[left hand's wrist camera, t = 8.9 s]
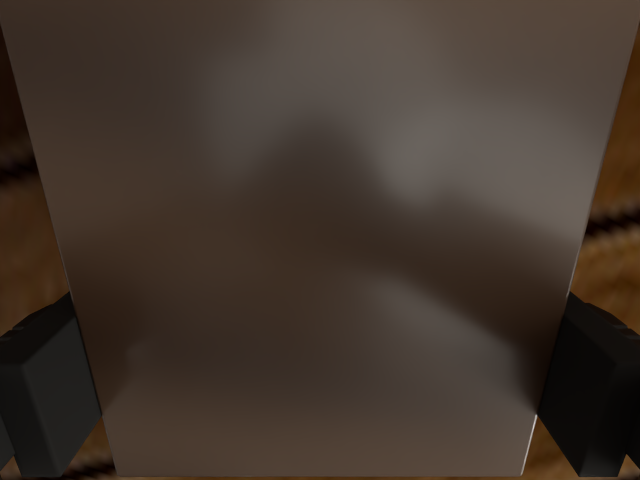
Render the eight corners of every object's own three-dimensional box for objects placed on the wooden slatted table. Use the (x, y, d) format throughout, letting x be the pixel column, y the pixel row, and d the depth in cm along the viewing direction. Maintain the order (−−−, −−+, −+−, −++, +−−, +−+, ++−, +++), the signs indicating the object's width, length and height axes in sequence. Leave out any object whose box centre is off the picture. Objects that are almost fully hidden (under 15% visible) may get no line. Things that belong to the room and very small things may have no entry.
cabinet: (158, -206, 12) (-268, -990, 3) (481, -205, 12) (906, -986, 3) (213, 293, 19) (116, 478, 10) (426, 293, 19) (523, 478, 10)
